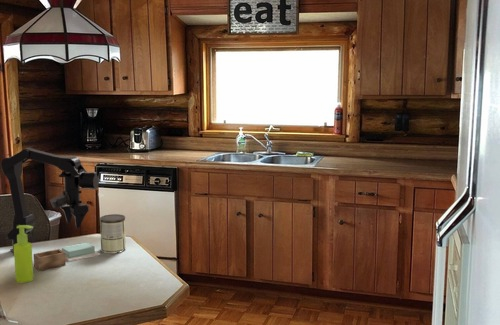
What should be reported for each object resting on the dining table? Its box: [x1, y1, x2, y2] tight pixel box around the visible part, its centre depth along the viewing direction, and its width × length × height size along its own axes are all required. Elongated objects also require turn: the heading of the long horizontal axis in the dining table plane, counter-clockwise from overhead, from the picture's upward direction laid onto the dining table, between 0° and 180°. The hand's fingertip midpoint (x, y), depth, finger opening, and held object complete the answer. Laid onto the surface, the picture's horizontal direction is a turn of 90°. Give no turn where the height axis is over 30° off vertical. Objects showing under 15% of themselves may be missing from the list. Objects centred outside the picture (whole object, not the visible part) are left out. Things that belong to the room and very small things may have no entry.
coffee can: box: [99, 213, 127, 254], centre depth 232 cm, size 10×10×14 cm
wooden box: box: [32, 248, 67, 272], centre depth 213 cm, size 10×6×5 cm, turn 130°
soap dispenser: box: [13, 225, 34, 284], centre depth 197 cm, size 6×7×20 cm
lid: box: [61, 242, 96, 258], centre depth 226 cm, size 11×7×3 cm, turn 130°
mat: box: [65, 250, 101, 263], centre depth 227 cm, size 12×13×1 cm
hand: (73, 225), depth 226 cm, fingers open, 9 cm apart
